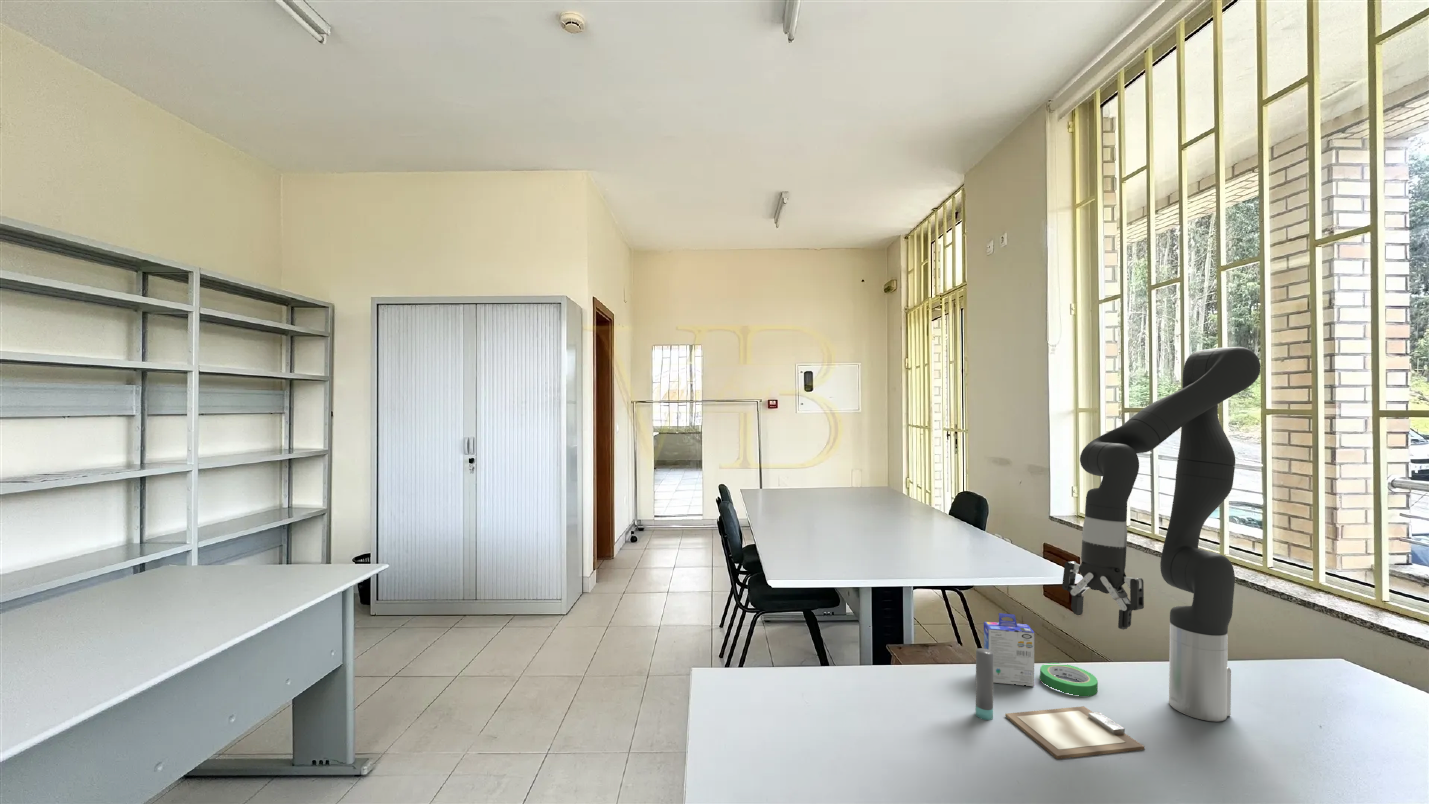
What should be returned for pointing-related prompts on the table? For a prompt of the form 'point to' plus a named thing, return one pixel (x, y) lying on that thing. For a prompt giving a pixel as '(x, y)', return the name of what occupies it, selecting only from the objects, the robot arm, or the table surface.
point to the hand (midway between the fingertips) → (1099, 621)
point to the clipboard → (1074, 732)
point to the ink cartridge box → (1010, 651)
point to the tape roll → (1082, 688)
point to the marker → (984, 683)
